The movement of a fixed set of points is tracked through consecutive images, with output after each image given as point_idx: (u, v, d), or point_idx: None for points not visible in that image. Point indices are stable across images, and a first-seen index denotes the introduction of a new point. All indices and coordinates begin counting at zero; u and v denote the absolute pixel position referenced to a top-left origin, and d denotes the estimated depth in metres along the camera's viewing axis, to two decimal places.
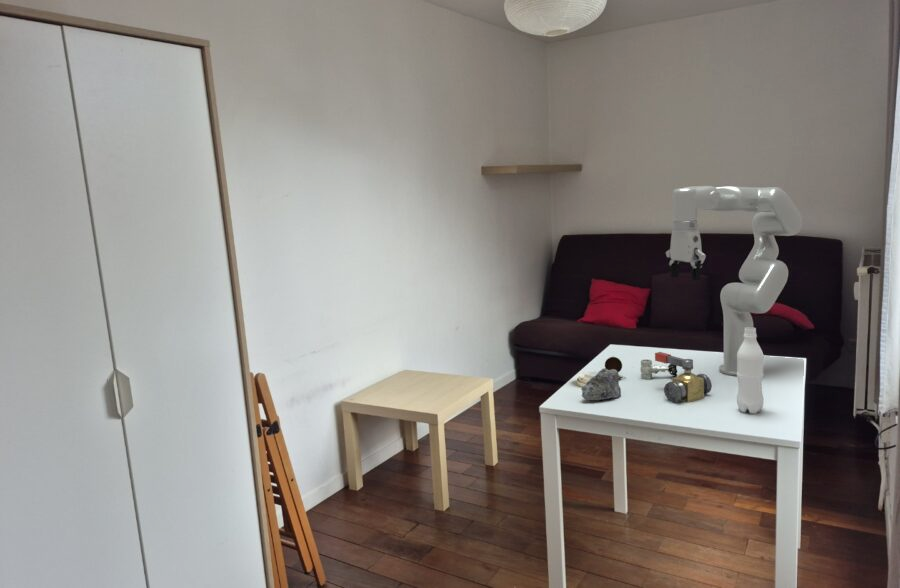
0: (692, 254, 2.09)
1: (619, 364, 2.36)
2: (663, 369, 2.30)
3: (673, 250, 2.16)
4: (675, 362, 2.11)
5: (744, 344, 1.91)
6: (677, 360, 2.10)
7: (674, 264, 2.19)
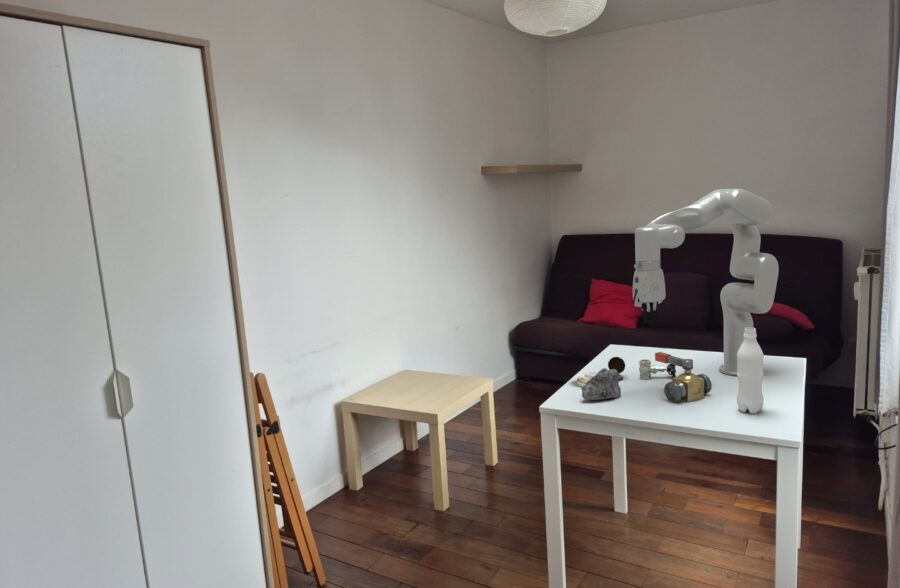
0: None
1: (622, 364, 2.36)
2: (662, 369, 2.30)
3: None
4: (675, 362, 2.11)
5: (744, 344, 1.91)
6: (677, 360, 2.10)
7: None
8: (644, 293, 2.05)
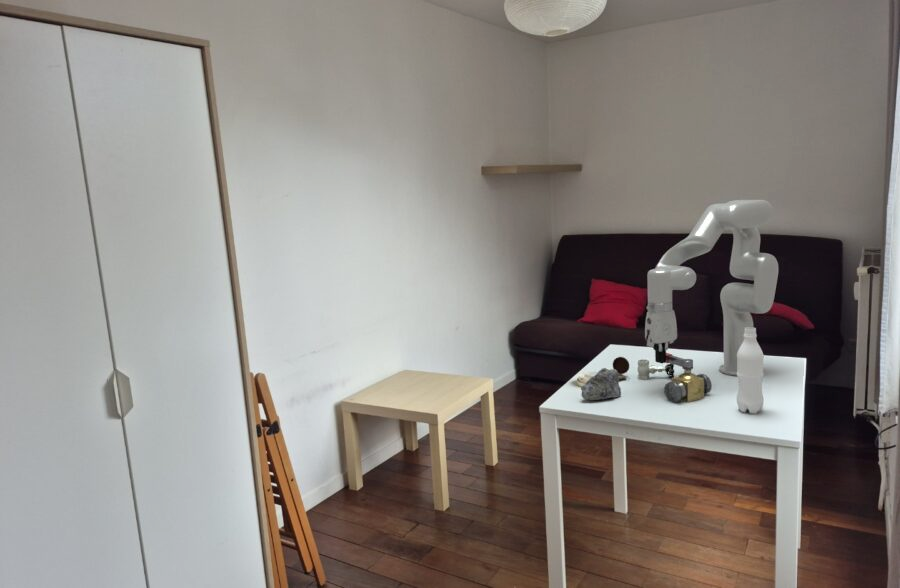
0: None
1: (626, 364, 2.35)
2: (660, 369, 2.30)
3: None
4: (676, 362, 2.12)
5: (744, 344, 1.91)
6: (677, 360, 2.11)
7: None
8: (656, 334, 2.09)
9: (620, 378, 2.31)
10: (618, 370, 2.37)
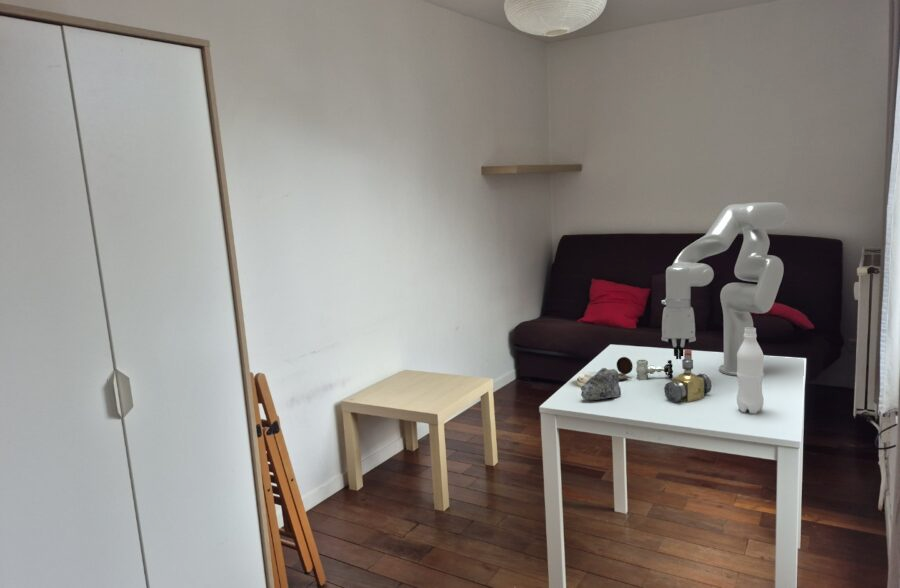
0: None
1: (630, 365, 2.34)
2: (659, 369, 2.30)
3: None
4: None
5: (744, 344, 1.91)
6: (685, 359, 2.11)
7: (679, 345, 2.16)
8: (664, 329, 2.14)
9: (621, 378, 2.31)
10: (622, 370, 2.37)
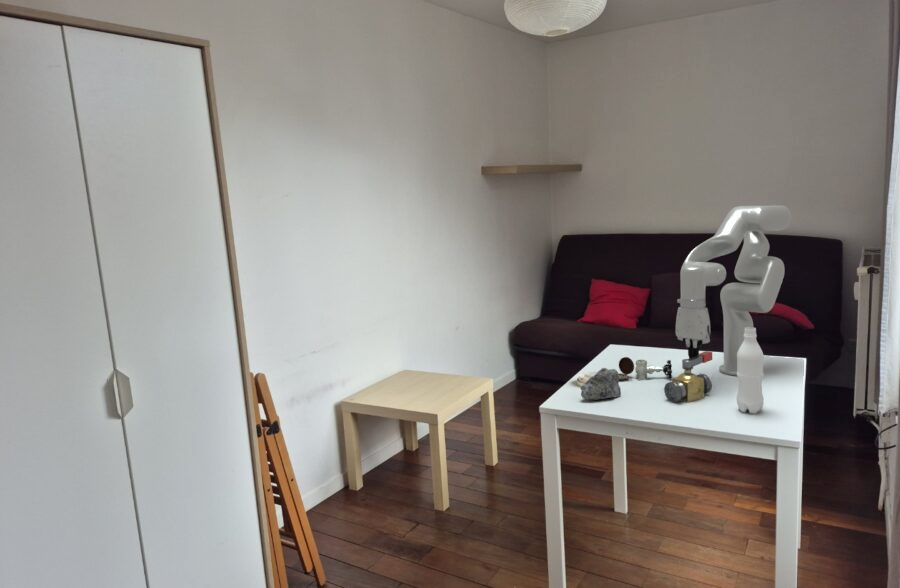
0: None
1: (631, 365, 2.34)
2: (658, 369, 2.30)
3: None
4: None
5: (744, 344, 1.91)
6: None
7: None
8: (677, 327, 2.15)
9: (622, 378, 2.31)
10: (624, 370, 2.37)
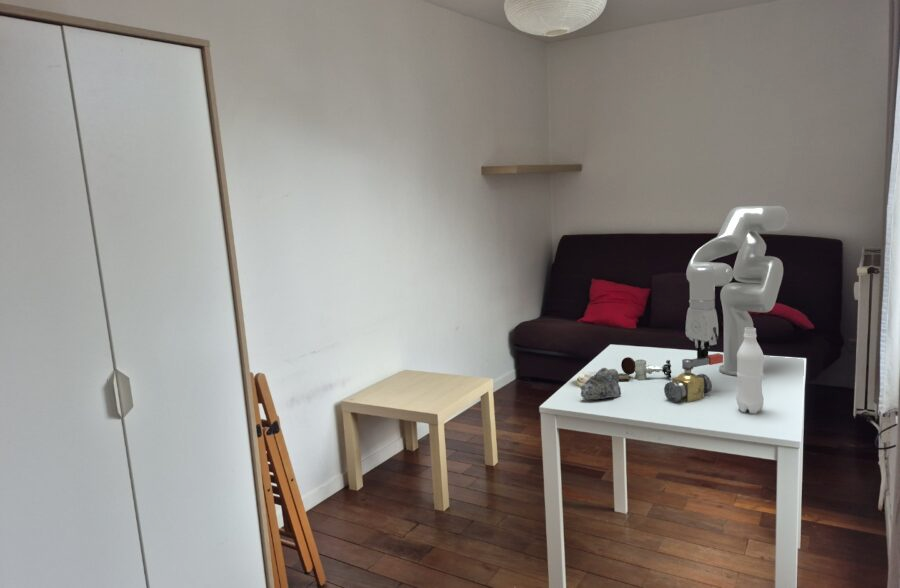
0: None
1: (633, 365, 2.33)
2: (657, 369, 2.30)
3: None
4: None
5: (744, 344, 1.91)
6: None
7: None
8: (686, 327, 2.15)
9: (623, 378, 2.31)
10: (626, 370, 2.36)
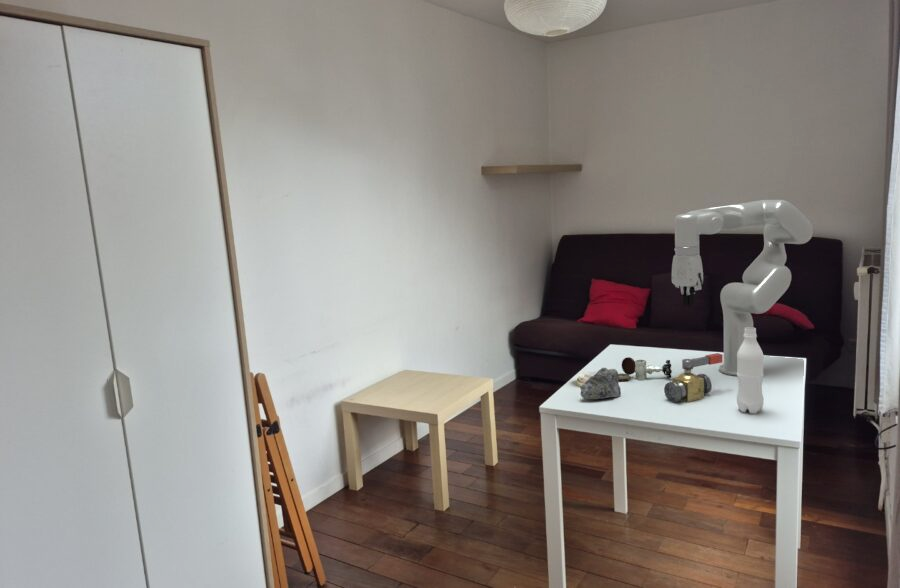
0: None
1: (633, 366, 2.33)
2: (657, 369, 2.30)
3: None
4: None
5: (744, 344, 1.91)
6: None
7: None
8: (672, 275, 2.21)
9: (623, 378, 2.31)
10: (626, 370, 2.36)
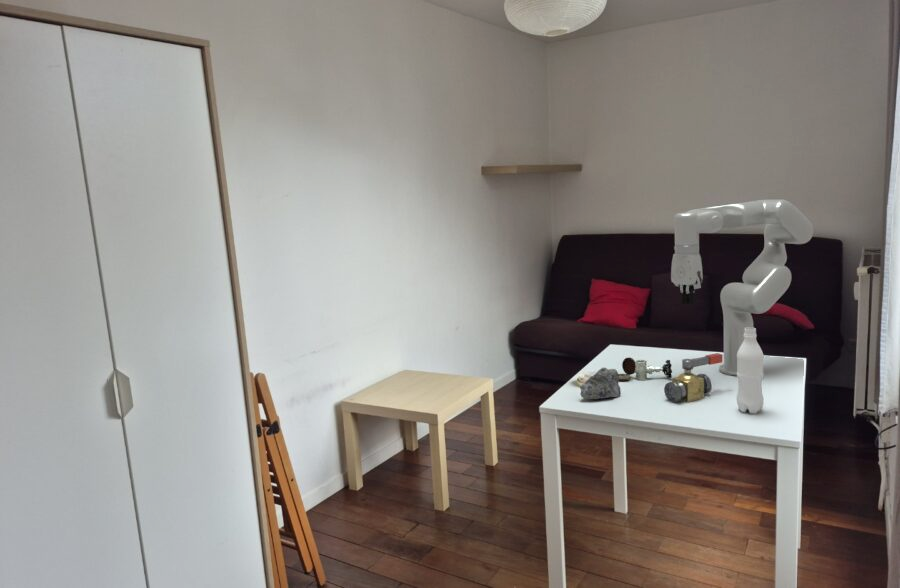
0: None
1: None
2: (658, 369, 2.30)
3: None
4: None
5: (744, 344, 1.91)
6: None
7: None
8: (672, 273, 2.21)
9: (623, 378, 2.30)
10: (627, 371, 2.36)
